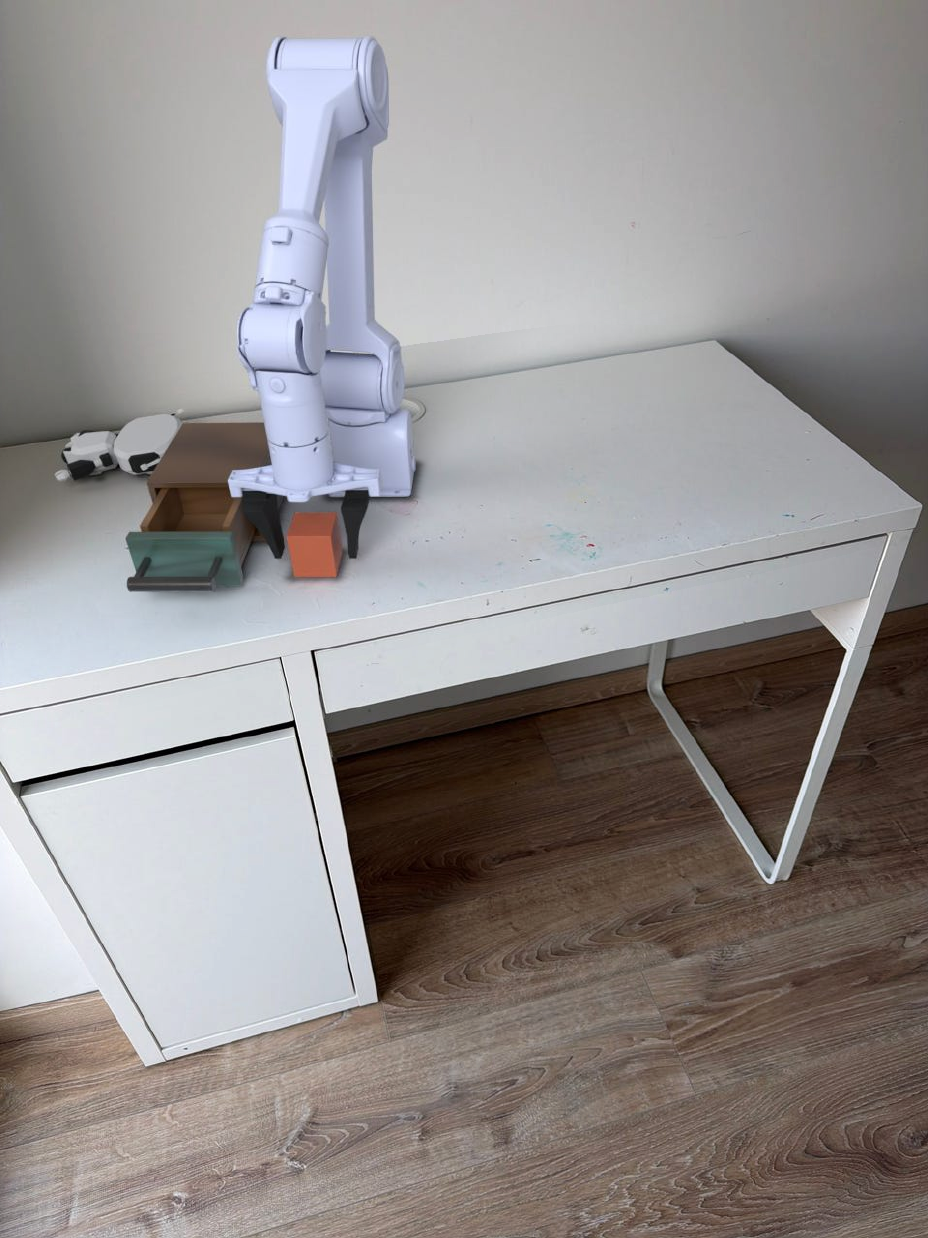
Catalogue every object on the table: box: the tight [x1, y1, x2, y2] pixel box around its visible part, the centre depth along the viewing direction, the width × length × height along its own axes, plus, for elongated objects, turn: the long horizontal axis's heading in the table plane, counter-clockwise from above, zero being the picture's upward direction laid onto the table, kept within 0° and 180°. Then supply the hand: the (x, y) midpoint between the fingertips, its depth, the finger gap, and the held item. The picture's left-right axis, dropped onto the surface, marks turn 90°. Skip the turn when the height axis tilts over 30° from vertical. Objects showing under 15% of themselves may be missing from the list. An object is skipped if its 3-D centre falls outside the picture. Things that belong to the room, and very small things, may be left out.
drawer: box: [125, 488, 257, 593], centre depth 89 cm, size 17×10×6 cm, turn 178°
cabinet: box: [146, 421, 285, 542], centre depth 98 cm, size 13×11×7 cm
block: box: [286, 511, 344, 578], centre depth 90 cm, size 4×4×5 cm
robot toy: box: [54, 408, 185, 482], centre depth 108 cm, size 12×4×15 cm
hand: (316, 553), depth 91 cm, fingers open, 7 cm apart
